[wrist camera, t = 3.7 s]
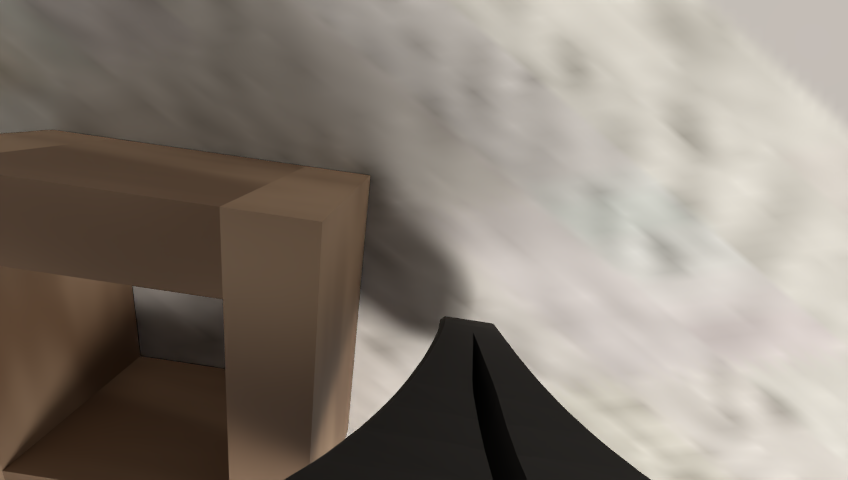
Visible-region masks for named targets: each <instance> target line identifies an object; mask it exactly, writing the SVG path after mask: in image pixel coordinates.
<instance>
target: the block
mask: <svg viewBox="0 0 848 480" xmlns="http://www.w3.org/2000/svg"><path fill="white" fill-rule="evenodd" d="M369 186H370V175H364V174H357V173H350V172H343V171H336V170H329V169H322V168H315V167H308V166H301V165H294V164H287V163H280V162H273V161H266V160H259V159H252V158H245V157H238V156H231V155H224V154H217V153H211V152H204V151H197V150H190V149H183V148H176V147H169V146H162V145H155V144H148V143H141V142H134V141H127V140H120V139H113V138H106V137H99V136H92V135H85V134H78V133H71V132H64V131H57V130H41V131H28V132H16V133H3V134H0V480H284V479H286V478H287V477H289V476H291V475H292V474H294V473H296V472H297V471H299V470H300V469H302V468H304V467H305V466H307V465H309V464H310V463H312V462H314V461H315V460H317V459H318V458H320V457H321V456H323V455H324V454H326V453H327V452H328V451H330V450H331V449H332V448H334V447H335V446H336V445H338V444H339V443H340V442H342V441H343V440H344V439H345V437H346V434H347V431H348V421H349V410H350V399H351V387H352V376H353V365H354V354H355V343H356V331H357V320H358V309H359V298H360V287H361V275H362V264H363V253H364V242H365V231H366V219H367V208H368V197H369ZM132 286H137V287H144V288H151V289H158V290H164V291H171V292H178V293H185V294H191V295H198V296H205V297H211V298H218V299H223V318H224V347H225V369H222V368H216V367H209V366H203V365H196V364H189V363H183V362H176V361H169V360H163V359H156V358H149V357H143V356H140V349H139V340H138V332H137V323H136V315H135V306H134V297H133V289H132Z"/></svg>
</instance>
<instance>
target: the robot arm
mask: <svg viewBox="0 0 848 480" xmlns="http://www.w3.org/2000/svg"><path fill="white" fill-rule="evenodd" d="M284 480H651V479H649V478H648V477H646V476H645V475H644V474H642V473H641V472H639V471H638V470H637V469H636V468H634V467H633V466H632V465H630V464H629V463H628V462H627V461H625V460H624V459H623V458H621V457H620V456H619V455H618V454H616V453H615V452H614V451H612V450H611V449H610V448H609V447H607V446H606V445H605V444H604V443H603V442H601V441H600V440H599V439H598V438H597V437H595V436H594V435H593V434H592V433H591V432H590V431H589V430H588V429H586V428H585V427H584V426H583V425H582V424H581V423H580V422H579V421H578V420H577V419H575V418H574V417H573V416H572V415H571V414H570V413H569V412H568V411H567V410H566V409H565V408H564V407H563V406H562V405H561V404H560V403H559V402H558V401H557V400H556V399H555V398H554V397H553V396H552V395H551V394H550V393H549V392H548V391H547V389H546V388H545V387H544V386H543V385H542V384H541V383H540V382H539V381H538V380H537V378H536V377H535V376H534V375H533V374H532V373H531V371H530V370H529V369H528V368H527V367H526V365H525V364H524V363H523V362H522V361H521V359H520V358H519V357H518V356H517V354H516V353H515V352H514V350H513V349H512V348H511V347H510V345H509V344H508V343H507V341H506V340H505V339H504V337H503V336H502V335H501V333H500V332H499V331H498V329H497V328H496V327H495V325H494V324H492V323H485V322H479V321H472V320H465V319H459V318H452V317H446V316H445V317H444V318H442V319H441V320H440V323H439V329H438V332H437V334H436V336H435V338H434V341H433V343H432V344H431V346H430V348H429V349H428V351H427V353H426V354H425V356H424V358H423V359H422V361H421V362H420V363H419V365H418V366H417V368H416V369H415V370H414V372H413V373H412V374H411V376H410V377H409V378H408V380H407V381H406V382H405V383H404V384H403V386H402V387H401V388H400V389H399V390H398V391H397V393H396V394H395V395H394V396H393V397H392V398H391V399H390V400H389V401H388V402H387V403H386V404H385V405H384V406H383V407H382V408H381V409H380V410H379V411H378V412H377V413H376V414H375V415H373V416H372V417H371V418H370V419H369V420H368V421H367V422H366V423H365V424H363V425H362V426H361V427H360V428H359V429H357V430H356V431H355V432H354V433H352V434H351V435H350V436H348V437H347V438H346V439H344V440H343V441H342V442H340V443H339V444H338V445H336V446H335V447H334V448H332V449H331V450H330V451H328V452H327V453H326V454H324V455H323V456H321V457H320V458H318V459H317V460H315V461H314V462H312V463H310V464H309V465H307V466H305V467H304V468H302V469H300V470H299V471H297V472H296V473H294V474H292V475H291V476H289V477H287V478H286V479H284Z"/></svg>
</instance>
